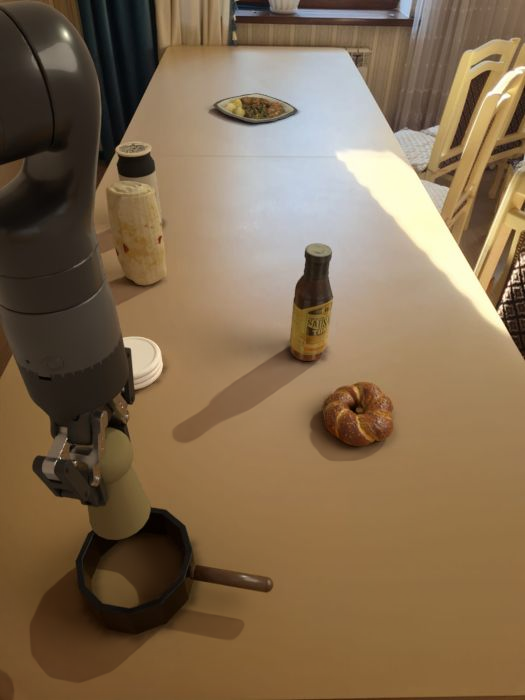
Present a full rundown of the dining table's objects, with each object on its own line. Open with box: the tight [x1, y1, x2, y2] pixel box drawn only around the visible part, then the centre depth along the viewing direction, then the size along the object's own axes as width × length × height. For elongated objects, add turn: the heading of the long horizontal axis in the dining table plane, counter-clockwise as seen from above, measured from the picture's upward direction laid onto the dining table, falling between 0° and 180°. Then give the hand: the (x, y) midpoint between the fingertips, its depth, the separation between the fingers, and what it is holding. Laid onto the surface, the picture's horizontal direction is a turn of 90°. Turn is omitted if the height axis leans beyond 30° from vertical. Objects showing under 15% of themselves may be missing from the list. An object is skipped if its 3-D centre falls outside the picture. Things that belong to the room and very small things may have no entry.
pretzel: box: [321, 381, 394, 447], centre depth 80 cm, size 12×11×4 cm
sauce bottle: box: [289, 242, 334, 362], centre depth 86 cm, size 7×6×20 cm
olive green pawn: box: [78, 427, 151, 541], centre depth 50 cm, size 6×6×11 cm
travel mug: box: [114, 140, 163, 226], centre depth 119 cm, size 8×8×18 cm
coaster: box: [122, 336, 164, 391], centre depth 88 cm, size 10×10×4 cm
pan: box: [75, 506, 274, 635], centre depth 61 cm, size 22×12×5 cm, turn 80°
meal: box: [212, 92, 299, 124], centre depth 184 cm, size 25×25×3 cm
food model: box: [105, 181, 168, 286], centre depth 102 cm, size 10×7×20 cm
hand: (108, 474), depth 50 cm, fingers closed on olive green pawn, 5 cm apart
